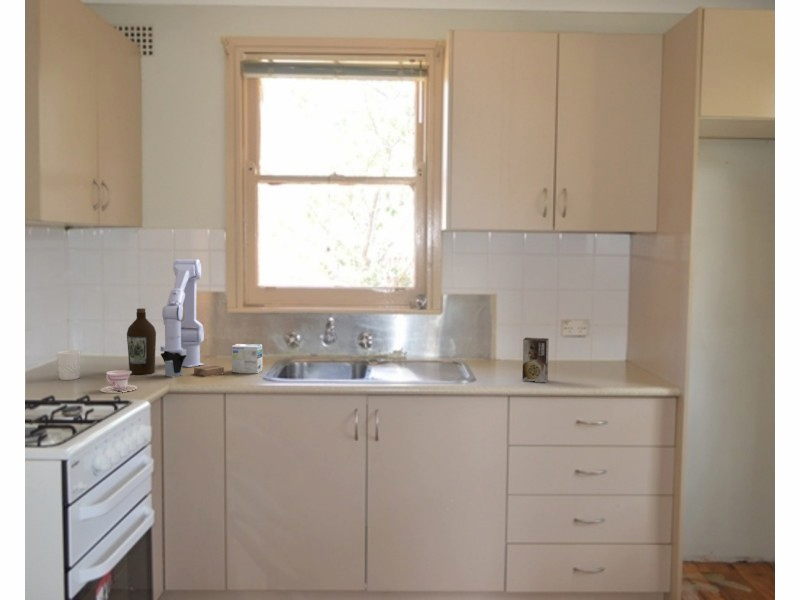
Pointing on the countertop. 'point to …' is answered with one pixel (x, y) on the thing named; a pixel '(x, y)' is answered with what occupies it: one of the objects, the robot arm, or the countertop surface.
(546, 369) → the coffee box
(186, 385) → the countertop surface
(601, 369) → the countertop surface
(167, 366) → the blue grey block
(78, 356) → the white cup
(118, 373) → the teacup
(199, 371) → the walnut block
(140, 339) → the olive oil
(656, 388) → the countertop surface
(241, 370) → the light bulb box
